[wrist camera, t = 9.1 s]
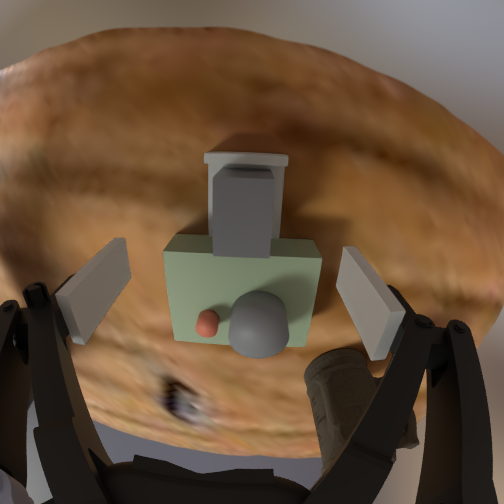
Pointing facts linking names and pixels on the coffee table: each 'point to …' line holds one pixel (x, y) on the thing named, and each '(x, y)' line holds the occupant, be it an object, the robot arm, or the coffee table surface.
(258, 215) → the tall grey cuboid
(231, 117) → the coffee table surface
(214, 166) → the green base with dome
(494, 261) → the coffee table surface
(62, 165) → the coffee table surface
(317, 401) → the beer stein
